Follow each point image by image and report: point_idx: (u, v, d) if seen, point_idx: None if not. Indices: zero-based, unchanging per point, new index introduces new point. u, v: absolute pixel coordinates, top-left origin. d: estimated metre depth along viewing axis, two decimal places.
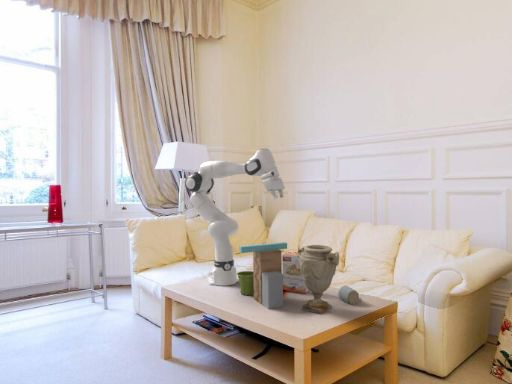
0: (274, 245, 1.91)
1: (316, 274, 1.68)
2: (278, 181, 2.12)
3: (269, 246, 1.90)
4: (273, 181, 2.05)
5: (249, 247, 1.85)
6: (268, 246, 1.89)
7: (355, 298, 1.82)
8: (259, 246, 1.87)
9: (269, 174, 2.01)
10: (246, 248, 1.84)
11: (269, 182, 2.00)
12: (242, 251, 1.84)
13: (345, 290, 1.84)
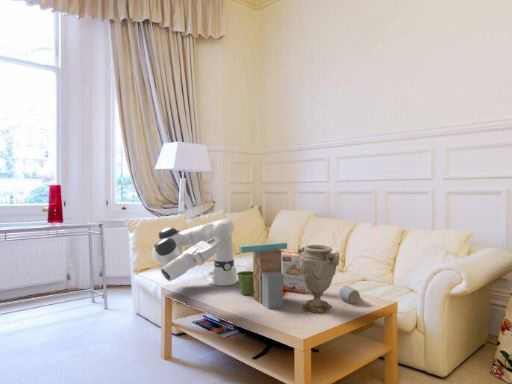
0: (274, 245, 1.91)
1: (316, 274, 1.68)
2: (197, 247, 1.81)
3: (269, 246, 1.90)
4: (202, 249, 1.74)
5: (249, 247, 1.85)
6: (268, 246, 1.89)
7: (356, 298, 1.82)
8: (259, 246, 1.87)
9: (196, 254, 1.69)
10: (246, 248, 1.84)
11: (206, 251, 1.69)
12: (242, 251, 1.84)
13: (346, 290, 1.84)
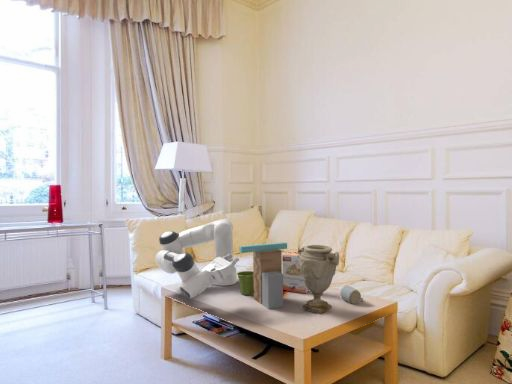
0: (274, 245, 1.91)
1: (316, 274, 1.68)
2: (215, 263, 1.82)
3: (269, 246, 1.90)
4: (220, 266, 1.75)
5: (249, 247, 1.85)
6: (268, 246, 1.89)
7: (357, 298, 1.82)
8: (259, 246, 1.87)
9: (216, 272, 1.70)
10: (246, 248, 1.84)
11: (225, 269, 1.70)
12: (242, 251, 1.84)
13: (347, 290, 1.84)
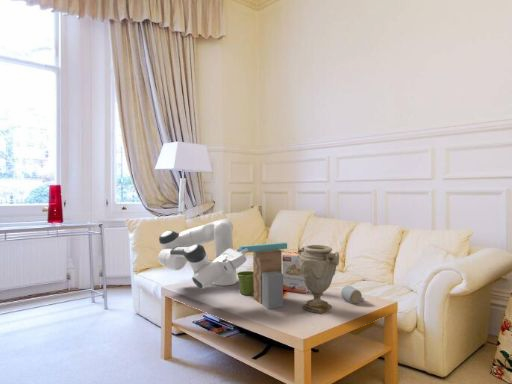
0: (274, 245, 1.91)
1: (316, 274, 1.68)
2: (226, 255, 1.85)
3: (269, 246, 1.90)
4: (231, 257, 1.78)
5: (249, 247, 1.85)
6: (268, 246, 1.89)
7: (358, 298, 1.83)
8: (259, 246, 1.87)
9: (227, 262, 1.73)
10: None
11: (237, 259, 1.74)
12: None
13: (348, 290, 1.84)
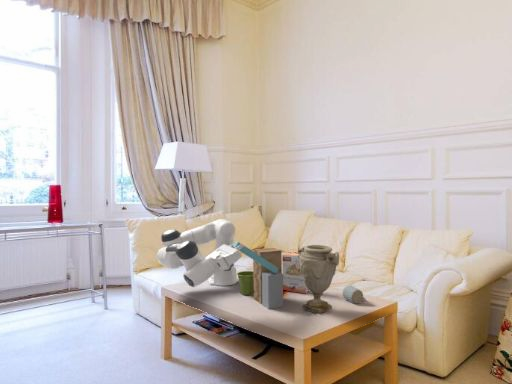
0: (267, 262, 1.78)
1: (316, 274, 1.68)
2: (220, 251, 1.74)
3: (262, 260, 1.77)
4: (225, 254, 1.67)
5: (244, 247, 1.73)
6: (261, 258, 1.77)
7: (359, 298, 1.83)
8: (253, 253, 1.75)
9: (221, 259, 1.61)
10: None
11: (231, 256, 1.62)
12: (236, 246, 1.72)
13: (349, 290, 1.85)
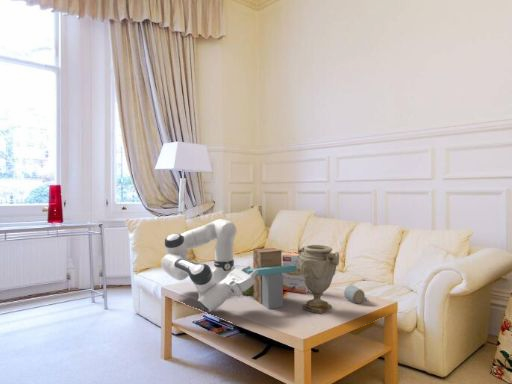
0: (283, 268, 1.82)
1: (316, 274, 1.68)
2: (233, 276, 1.77)
3: (277, 269, 1.81)
4: (239, 279, 1.70)
5: None
6: (276, 269, 1.81)
7: (361, 297, 1.83)
8: (267, 269, 1.79)
9: (235, 285, 1.64)
10: None
11: (245, 282, 1.65)
12: None
13: (351, 290, 1.85)
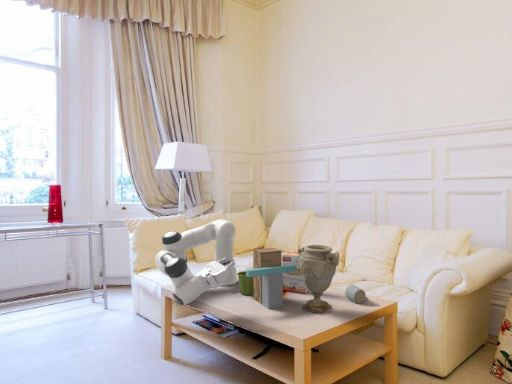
0: (283, 268, 1.82)
1: (316, 274, 1.68)
2: (210, 268, 1.73)
3: (277, 269, 1.81)
4: (215, 271, 1.66)
5: (256, 271, 1.76)
6: (276, 269, 1.81)
7: (362, 297, 1.83)
8: (267, 269, 1.79)
9: (210, 277, 1.60)
10: (253, 272, 1.76)
11: (220, 274, 1.61)
12: (249, 275, 1.75)
13: (352, 289, 1.85)
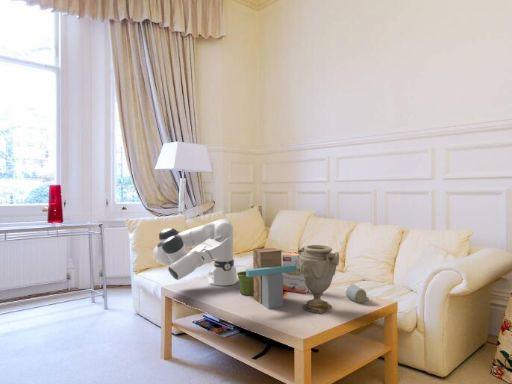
0: (283, 268, 1.82)
1: (316, 274, 1.68)
2: (205, 245, 1.77)
3: (277, 269, 1.81)
4: (210, 247, 1.70)
5: (256, 271, 1.76)
6: (276, 269, 1.81)
7: (363, 297, 1.84)
8: (267, 269, 1.79)
9: (205, 252, 1.64)
10: (253, 272, 1.76)
11: (215, 249, 1.65)
12: (249, 275, 1.75)
13: (353, 289, 1.85)
